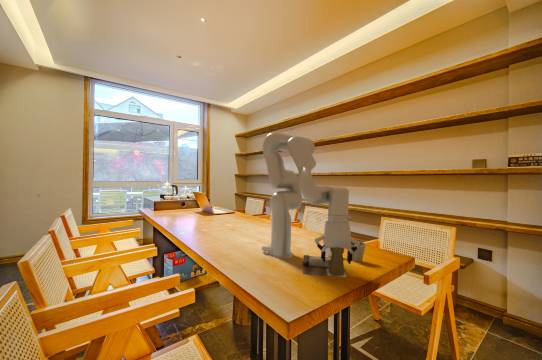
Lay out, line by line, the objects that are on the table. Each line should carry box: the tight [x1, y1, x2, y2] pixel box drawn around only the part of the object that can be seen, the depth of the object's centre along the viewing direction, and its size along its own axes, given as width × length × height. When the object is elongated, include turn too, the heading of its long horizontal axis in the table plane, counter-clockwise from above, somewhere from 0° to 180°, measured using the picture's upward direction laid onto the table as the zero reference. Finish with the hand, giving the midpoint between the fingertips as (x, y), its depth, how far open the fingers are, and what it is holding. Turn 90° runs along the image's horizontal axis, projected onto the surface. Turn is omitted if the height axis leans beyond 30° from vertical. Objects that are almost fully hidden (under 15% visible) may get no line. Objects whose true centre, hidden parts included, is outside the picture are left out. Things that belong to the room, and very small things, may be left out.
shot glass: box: [322, 242, 332, 257], centre depth 115 cm, size 7×7×7 cm
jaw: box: [302, 254, 331, 268], centre depth 99 cm, size 15×3×4 cm, turn 82°
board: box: [302, 255, 349, 278], centre depth 97 cm, size 17×14×4 cm
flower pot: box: [346, 240, 367, 263], centre depth 110 cm, size 9×9×9 cm
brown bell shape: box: [329, 247, 345, 276], centre depth 93 cm, size 6×6×11 cm
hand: (336, 261), depth 93 cm, fingers open, 9 cm apart
